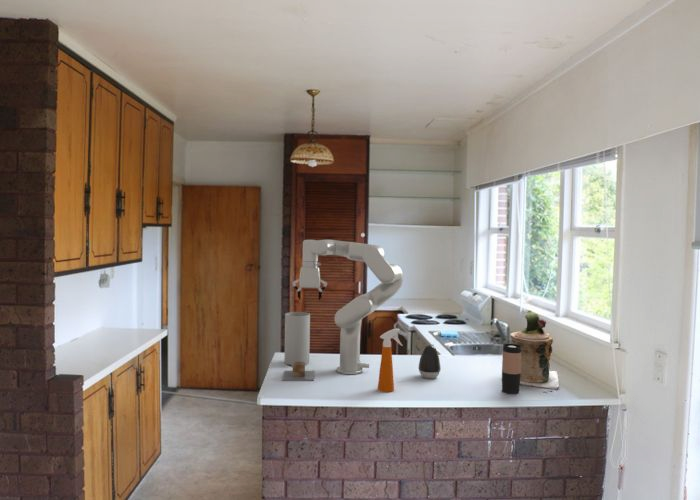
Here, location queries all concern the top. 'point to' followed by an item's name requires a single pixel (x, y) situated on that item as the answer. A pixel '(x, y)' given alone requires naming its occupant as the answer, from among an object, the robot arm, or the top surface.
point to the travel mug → (511, 368)
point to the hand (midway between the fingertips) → (309, 299)
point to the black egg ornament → (429, 362)
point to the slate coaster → (289, 377)
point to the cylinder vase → (297, 337)
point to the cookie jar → (535, 354)
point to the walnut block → (298, 369)
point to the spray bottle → (387, 362)
